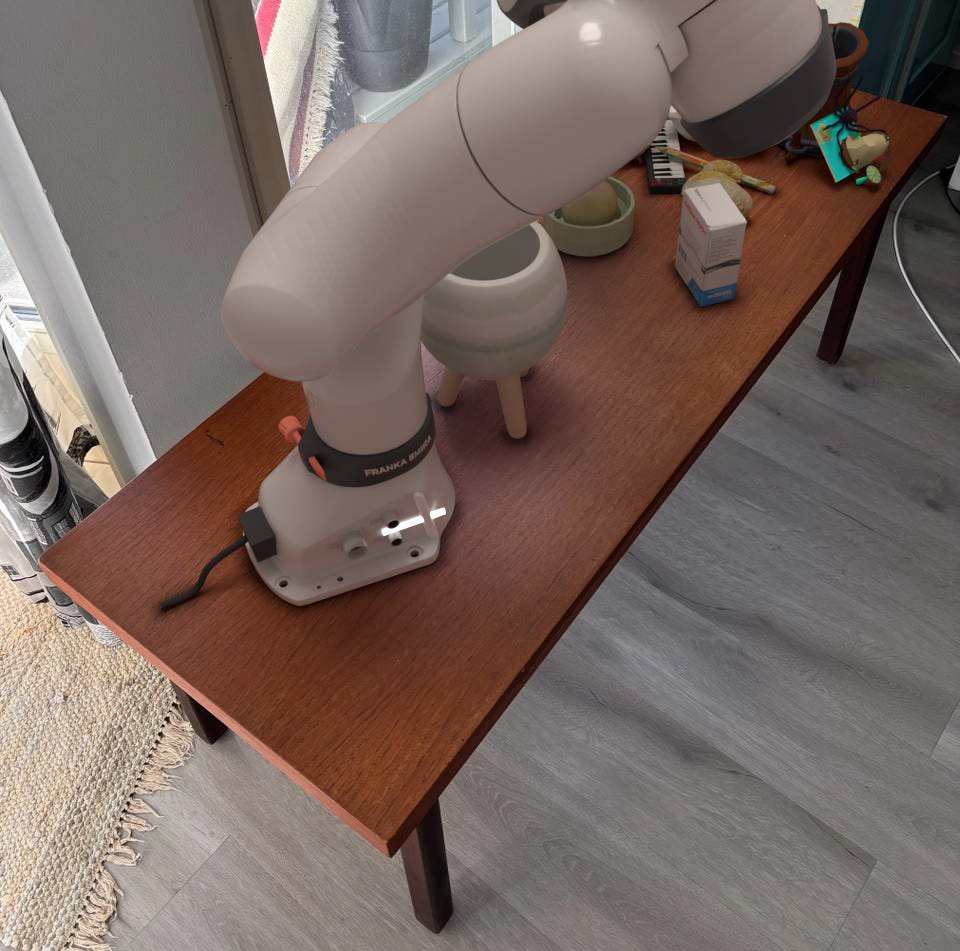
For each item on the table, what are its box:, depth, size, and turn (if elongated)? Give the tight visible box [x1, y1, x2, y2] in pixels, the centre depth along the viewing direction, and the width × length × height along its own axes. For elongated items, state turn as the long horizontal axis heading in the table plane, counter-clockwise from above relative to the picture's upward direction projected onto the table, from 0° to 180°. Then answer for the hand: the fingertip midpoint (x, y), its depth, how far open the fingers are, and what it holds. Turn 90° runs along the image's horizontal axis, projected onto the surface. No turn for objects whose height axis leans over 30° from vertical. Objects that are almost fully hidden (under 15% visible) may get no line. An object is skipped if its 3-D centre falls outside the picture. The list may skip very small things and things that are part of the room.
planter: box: [421, 220, 569, 439], centre depth 104 cm, size 16×16×22 cm
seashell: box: [680, 158, 754, 219], centre depth 131 cm, size 10×6×15 cm
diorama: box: [810, 73, 892, 186], centre depth 133 cm, size 11×15×6 cm
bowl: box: [541, 176, 635, 257], centre depth 130 cm, size 12×12×5 cm
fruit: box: [561, 181, 617, 226], centre depth 128 cm, size 8×7×8 cm
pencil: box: [655, 146, 777, 195], centre depth 137 cm, size 1×1×18 cm
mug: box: [778, 21, 870, 163], centre depth 135 cm, size 18×12×15 cm, turn 143°
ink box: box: [674, 183, 748, 308], centre depth 119 cm, size 9×5×12 cm, turn 14°
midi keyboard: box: [643, 118, 687, 194], centre depth 141 cm, size 18×1×5 cm
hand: (588, 116), depth 119 cm, fingers open, 8 cm apart
